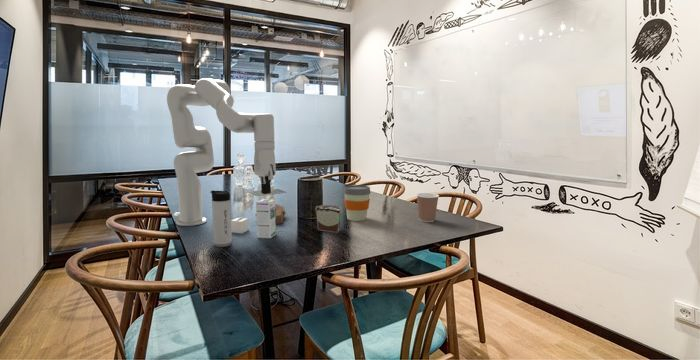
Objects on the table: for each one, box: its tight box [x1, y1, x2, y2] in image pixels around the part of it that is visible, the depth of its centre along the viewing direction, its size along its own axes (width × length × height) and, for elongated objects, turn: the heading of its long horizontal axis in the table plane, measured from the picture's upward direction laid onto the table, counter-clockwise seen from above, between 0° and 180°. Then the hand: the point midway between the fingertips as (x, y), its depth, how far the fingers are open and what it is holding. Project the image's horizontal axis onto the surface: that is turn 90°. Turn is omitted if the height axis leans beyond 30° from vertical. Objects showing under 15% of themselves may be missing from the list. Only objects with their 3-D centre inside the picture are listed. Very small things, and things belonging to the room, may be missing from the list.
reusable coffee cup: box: [343, 184, 371, 222], centre depth 179 cm, size 13×13×15 cm
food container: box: [314, 204, 343, 234], centre depth 159 cm, size 12×6×10 cm, turn 65°
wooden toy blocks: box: [255, 203, 286, 225], centre depth 175 cm, size 8×13×18 cm
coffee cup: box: [416, 192, 440, 223], centre depth 176 cm, size 10×10×12 cm
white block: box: [231, 217, 250, 234], centre depth 156 cm, size 5×5×5 cm
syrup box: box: [255, 198, 277, 239], centre depth 149 cm, size 6×6×14 cm
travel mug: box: [210, 189, 233, 248], centre depth 138 cm, size 6×7×20 cm
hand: (266, 193), depth 147 cm, fingers closed
